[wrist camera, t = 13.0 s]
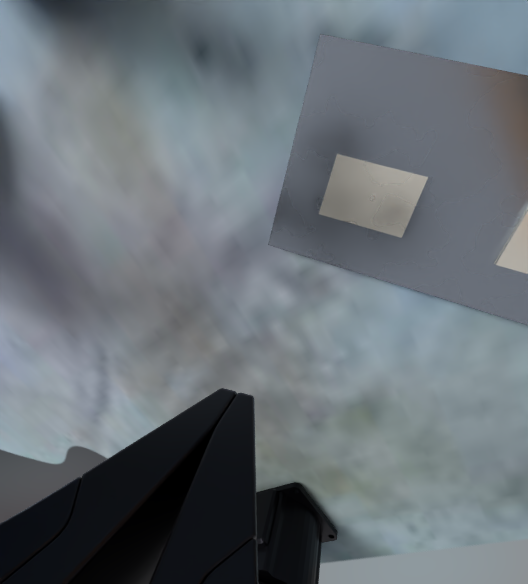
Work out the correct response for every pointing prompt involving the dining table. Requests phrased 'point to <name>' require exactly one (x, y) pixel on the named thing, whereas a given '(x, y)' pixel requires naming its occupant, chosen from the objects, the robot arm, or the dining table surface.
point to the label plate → (412, 175)
